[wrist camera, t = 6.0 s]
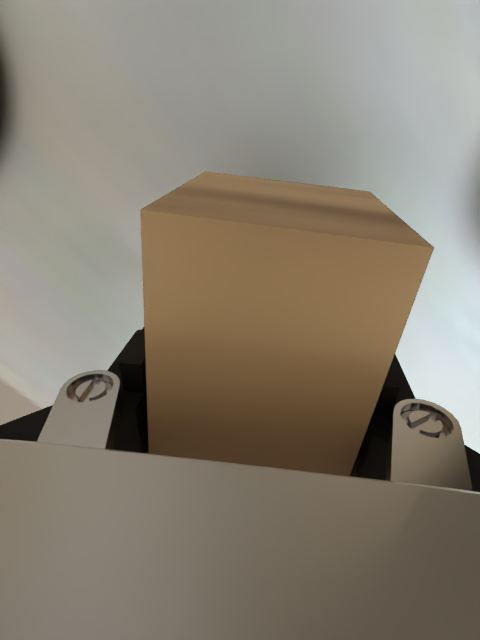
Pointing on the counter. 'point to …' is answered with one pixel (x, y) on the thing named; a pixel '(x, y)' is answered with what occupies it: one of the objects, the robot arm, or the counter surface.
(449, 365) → the counter surface
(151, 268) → the oak bar
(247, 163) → the counter surface
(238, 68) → the counter surface
